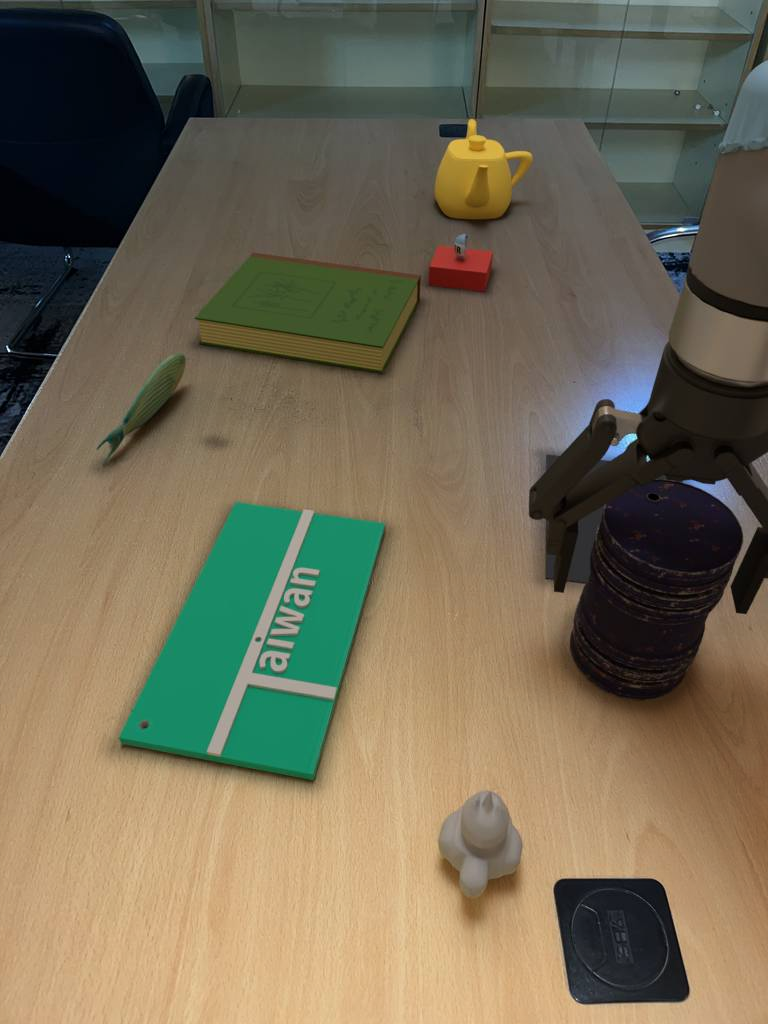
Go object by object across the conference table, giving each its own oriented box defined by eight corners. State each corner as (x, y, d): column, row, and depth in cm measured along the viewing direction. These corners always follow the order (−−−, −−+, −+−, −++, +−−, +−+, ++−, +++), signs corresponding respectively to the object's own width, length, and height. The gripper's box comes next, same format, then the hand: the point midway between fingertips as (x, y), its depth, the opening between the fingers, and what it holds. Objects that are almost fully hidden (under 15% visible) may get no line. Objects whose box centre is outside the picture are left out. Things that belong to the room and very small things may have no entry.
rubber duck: (523, 826, 56) (539, 767, 51) (508, 922, 52) (524, 869, 46) (447, 806, 57) (455, 747, 52) (426, 898, 53) (432, 844, 47)
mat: (703, 596, 72) (703, 595, 72) (545, 578, 73) (545, 577, 73) (680, 468, 85) (680, 467, 85) (546, 455, 86) (546, 454, 86)
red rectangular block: (428, 284, 114) (430, 242, 110) (437, 263, 119) (439, 221, 115) (484, 291, 113) (488, 248, 109) (491, 269, 118) (495, 227, 113)
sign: (312, 771, 58) (117, 735, 60) (313, 780, 59) (121, 743, 61) (385, 520, 77) (235, 499, 79) (385, 529, 78) (236, 508, 80)
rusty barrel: (711, 689, 65) (774, 561, 54) (597, 713, 63) (640, 586, 53) (653, 597, 72) (699, 469, 62) (550, 616, 70) (579, 488, 60)
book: (419, 300, 111) (420, 275, 108) (382, 373, 98) (382, 346, 95) (250, 276, 116) (247, 251, 113) (193, 343, 103) (189, 316, 100)
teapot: (536, 233, 127) (546, 162, 119) (437, 233, 127) (441, 162, 119) (517, 180, 143) (525, 115, 136) (430, 179, 143) (433, 114, 135)
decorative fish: (95, 433, 80) (189, 474, 80) (176, 332, 91) (258, 369, 91) (95, 474, 85) (183, 512, 85) (171, 374, 96) (249, 408, 96)
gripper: (932, 338, 49) (804, 572, 64) (520, 305, 52) (488, 537, 66) (979, 411, 44) (827, 648, 58) (517, 369, 46) (483, 607, 61)
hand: (647, 590), depth 62 cm, fingers open, 13 cm apart
